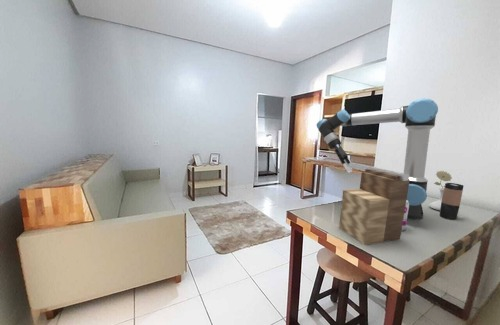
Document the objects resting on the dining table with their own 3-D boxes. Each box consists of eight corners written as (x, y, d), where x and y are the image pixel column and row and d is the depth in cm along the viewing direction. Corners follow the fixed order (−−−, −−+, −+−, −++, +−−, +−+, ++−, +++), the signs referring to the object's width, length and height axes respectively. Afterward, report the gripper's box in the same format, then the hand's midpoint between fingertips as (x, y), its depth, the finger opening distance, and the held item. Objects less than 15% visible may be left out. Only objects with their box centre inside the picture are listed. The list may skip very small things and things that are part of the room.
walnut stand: (338, 227, 103) (345, 169, 98) (370, 223, 108) (377, 168, 104) (365, 244, 88) (374, 177, 83) (399, 239, 93) (410, 175, 89)
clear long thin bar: (348, 167, 114) (349, 162, 113) (353, 167, 114) (353, 162, 114) (403, 180, 85) (404, 174, 85) (408, 180, 86) (409, 174, 86)
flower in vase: (457, 213, 127) (466, 174, 122) (439, 212, 127) (446, 173, 123) (438, 205, 139) (445, 169, 135) (421, 205, 140) (428, 169, 136)
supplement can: (405, 233, 99) (410, 203, 97) (385, 228, 103) (389, 199, 101) (404, 226, 106) (408, 199, 104) (385, 222, 110) (389, 195, 108)
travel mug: (460, 221, 116) (467, 186, 112) (444, 219, 117) (451, 185, 114) (450, 215, 123) (456, 183, 120) (435, 214, 124) (441, 182, 121)
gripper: (327, 149, 142) (344, 176, 135) (326, 138, 119) (346, 170, 112) (338, 143, 140) (355, 170, 133) (339, 131, 118) (359, 163, 110)
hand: (351, 170), depth 123 cm, fingers open, 13 cm apart
